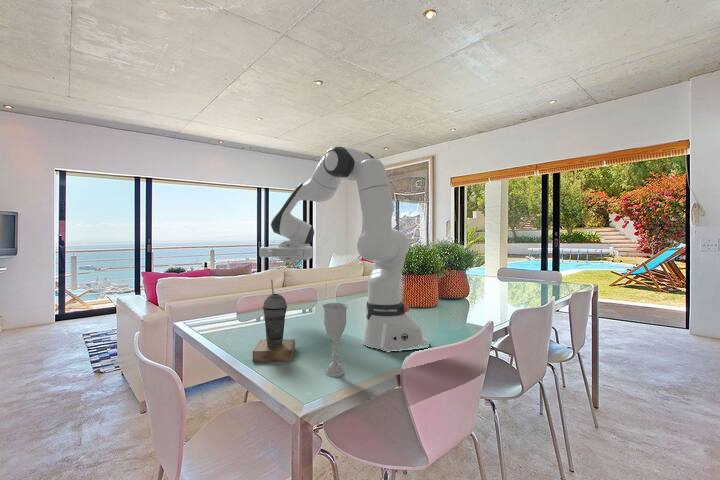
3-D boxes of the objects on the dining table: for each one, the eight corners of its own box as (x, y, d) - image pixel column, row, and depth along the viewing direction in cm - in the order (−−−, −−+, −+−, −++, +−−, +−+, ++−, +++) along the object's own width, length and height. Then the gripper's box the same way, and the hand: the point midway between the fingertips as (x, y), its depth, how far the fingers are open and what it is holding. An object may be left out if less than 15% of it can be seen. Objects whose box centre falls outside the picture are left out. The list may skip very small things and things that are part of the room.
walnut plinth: (294, 348, 111) (295, 339, 111) (291, 360, 100) (291, 350, 100) (260, 349, 110) (260, 339, 110) (252, 361, 99) (252, 351, 99)
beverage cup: (280, 349, 101) (281, 281, 100) (257, 347, 102) (258, 280, 102) (290, 342, 108) (291, 278, 108) (269, 340, 109) (269, 277, 109)
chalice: (322, 367, 95) (322, 303, 95) (346, 367, 96) (347, 302, 95) (321, 378, 88) (322, 308, 88) (347, 378, 88) (348, 308, 88)
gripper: (262, 243, 137) (255, 244, 124) (314, 243, 139) (312, 244, 126) (262, 259, 138) (254, 261, 124) (313, 259, 139) (312, 262, 126)
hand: (284, 253), depth 125 cm, fingers open, 8 cm apart
